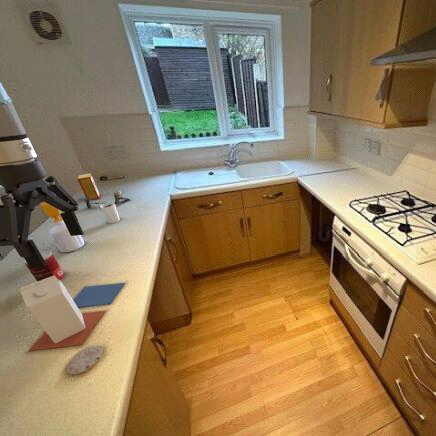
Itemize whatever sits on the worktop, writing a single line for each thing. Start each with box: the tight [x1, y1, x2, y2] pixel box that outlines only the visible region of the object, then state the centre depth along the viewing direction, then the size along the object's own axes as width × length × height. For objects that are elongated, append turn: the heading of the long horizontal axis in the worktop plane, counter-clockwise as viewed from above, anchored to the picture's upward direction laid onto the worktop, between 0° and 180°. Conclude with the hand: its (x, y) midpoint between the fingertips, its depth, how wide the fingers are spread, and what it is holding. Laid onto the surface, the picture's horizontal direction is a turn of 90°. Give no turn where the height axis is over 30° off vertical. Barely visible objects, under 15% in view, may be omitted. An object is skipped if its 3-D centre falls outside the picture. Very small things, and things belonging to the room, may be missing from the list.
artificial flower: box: [85, 190, 130, 209], centre depth 155 cm, size 9×22×10 cm, turn 114°
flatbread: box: [65, 345, 104, 376], centre depth 64 cm, size 8×8×1 cm
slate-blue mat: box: [73, 282, 126, 309], centre depth 85 cm, size 14×10×1 cm
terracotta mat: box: [28, 310, 106, 352], centre depth 73 cm, size 14×12×1 cm
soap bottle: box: [40, 202, 85, 253], centre depth 107 cm, size 9×9×25 cm
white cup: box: [99, 202, 121, 224], centre depth 133 cm, size 7×7×10 cm
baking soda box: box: [77, 173, 101, 201], centre depth 163 cm, size 10×6×16 cm
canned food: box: [23, 250, 65, 282], centre depth 91 cm, size 8×8×11 cm
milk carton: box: [18, 275, 85, 344], centre depth 68 cm, size 7×7×19 cm
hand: (60, 249), depth 58 cm, fingers open, 13 cm apart
